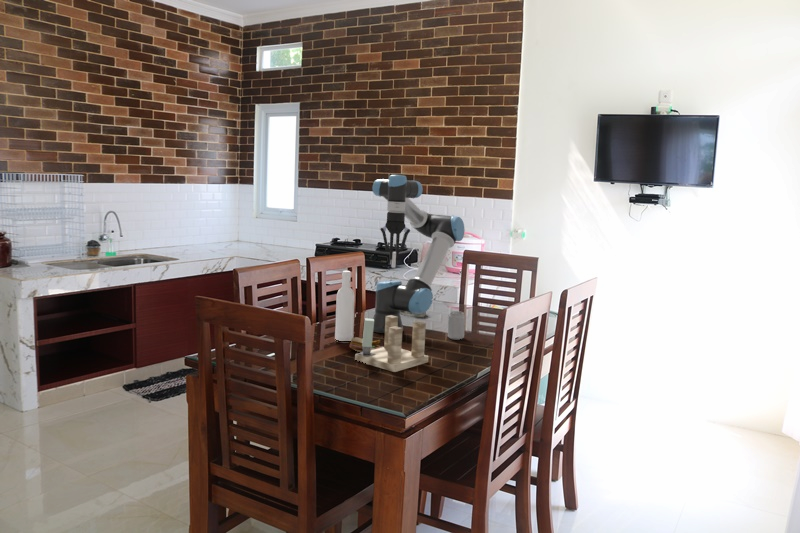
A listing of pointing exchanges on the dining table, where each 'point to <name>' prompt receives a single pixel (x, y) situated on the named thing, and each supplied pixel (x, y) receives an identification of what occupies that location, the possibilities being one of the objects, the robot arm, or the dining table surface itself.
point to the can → (456, 325)
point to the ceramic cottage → (412, 314)
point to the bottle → (345, 309)
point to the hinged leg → (367, 335)
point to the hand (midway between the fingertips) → (393, 267)
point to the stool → (397, 348)
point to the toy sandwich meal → (357, 344)
